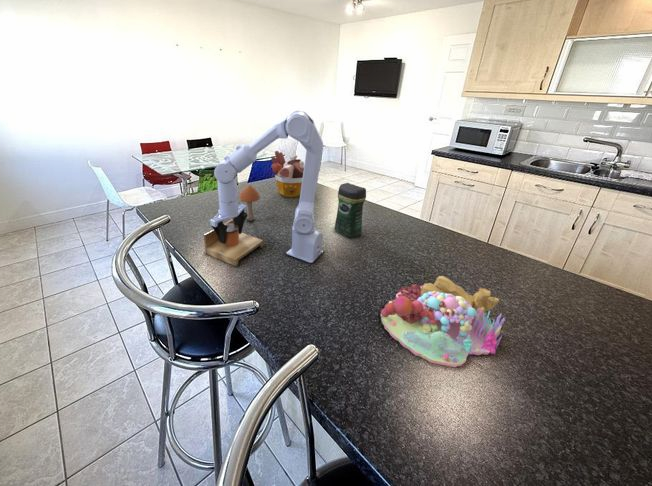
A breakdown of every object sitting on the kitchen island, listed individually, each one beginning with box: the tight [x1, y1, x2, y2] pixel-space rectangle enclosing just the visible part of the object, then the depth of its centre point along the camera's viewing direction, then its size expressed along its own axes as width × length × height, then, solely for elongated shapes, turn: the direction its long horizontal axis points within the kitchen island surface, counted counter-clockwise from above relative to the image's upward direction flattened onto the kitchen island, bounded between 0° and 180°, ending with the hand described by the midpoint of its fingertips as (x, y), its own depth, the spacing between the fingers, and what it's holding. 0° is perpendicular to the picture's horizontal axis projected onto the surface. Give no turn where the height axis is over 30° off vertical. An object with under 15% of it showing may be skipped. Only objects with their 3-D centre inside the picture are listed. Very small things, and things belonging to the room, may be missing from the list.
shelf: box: [203, 218, 264, 267], centre depth 96 cm, size 13×14×7 cm
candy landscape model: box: [380, 275, 506, 368], centre depth 68 cm, size 25×24×9 cm
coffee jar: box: [334, 182, 367, 238], centre depth 106 cm, size 10×8×19 cm
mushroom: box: [238, 184, 261, 222], centre depth 114 cm, size 8×8×15 cm
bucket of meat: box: [270, 150, 305, 198], centre depth 142 cm, size 20×16×20 cm
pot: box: [223, 224, 239, 246], centre depth 96 cm, size 6×6×6 cm
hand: (230, 237), depth 96 cm, fingers open, 7 cm apart
